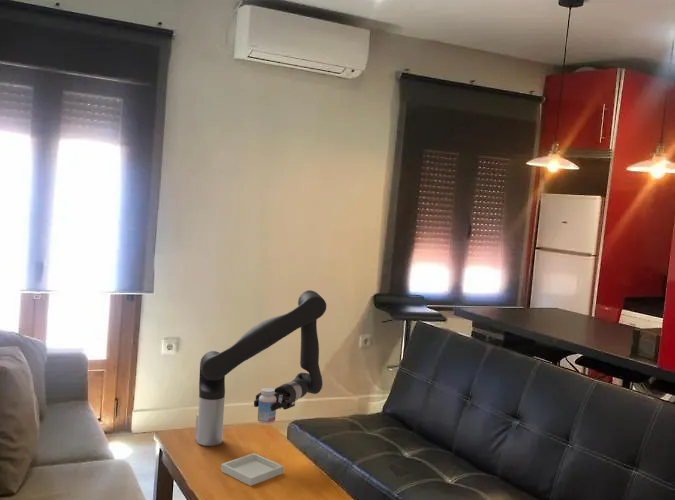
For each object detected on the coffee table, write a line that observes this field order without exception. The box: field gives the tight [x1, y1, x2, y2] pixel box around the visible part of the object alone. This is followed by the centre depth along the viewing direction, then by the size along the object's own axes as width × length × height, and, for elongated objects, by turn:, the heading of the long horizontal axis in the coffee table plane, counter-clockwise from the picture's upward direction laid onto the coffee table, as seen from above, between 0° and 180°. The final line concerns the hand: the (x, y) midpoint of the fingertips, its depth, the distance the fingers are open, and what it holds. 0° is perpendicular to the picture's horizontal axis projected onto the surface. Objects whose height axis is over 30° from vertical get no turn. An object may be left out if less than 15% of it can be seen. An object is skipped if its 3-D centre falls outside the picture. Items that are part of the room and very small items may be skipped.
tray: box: [220, 452, 285, 487], centre depth 233 cm, size 15×15×2 cm
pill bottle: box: [257, 387, 277, 425], centre depth 240 cm, size 6×6×11 cm
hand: (263, 406), depth 237 cm, fingers closed on pill bottle, 6 cm apart
